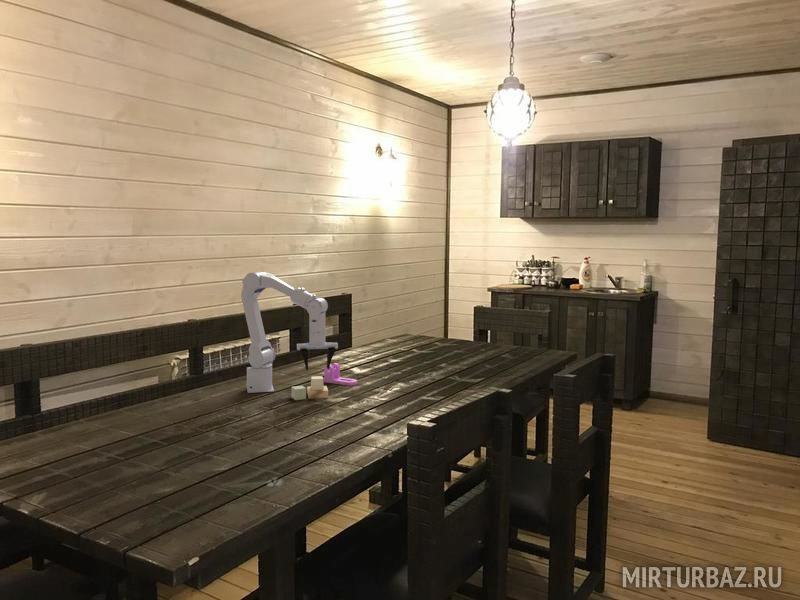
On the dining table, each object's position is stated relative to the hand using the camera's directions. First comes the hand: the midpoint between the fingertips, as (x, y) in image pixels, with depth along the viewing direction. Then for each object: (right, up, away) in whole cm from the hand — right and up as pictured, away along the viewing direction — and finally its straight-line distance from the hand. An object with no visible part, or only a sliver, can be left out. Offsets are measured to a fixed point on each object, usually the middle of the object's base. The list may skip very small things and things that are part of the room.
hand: (317, 368), depth 230 cm
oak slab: (0, -10, +1) cm, 10 cm away
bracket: (+7, -8, +21) cm, 23 cm away
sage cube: (-6, -10, -3) cm, 12 cm away
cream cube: (0, -7, +1) cm, 7 cm away
